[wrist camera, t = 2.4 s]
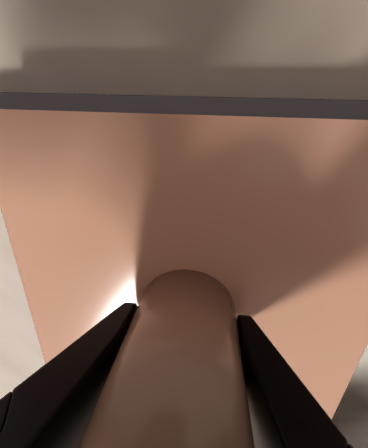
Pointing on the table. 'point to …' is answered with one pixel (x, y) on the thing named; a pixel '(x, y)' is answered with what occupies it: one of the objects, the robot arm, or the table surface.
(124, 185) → the lid
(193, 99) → the mat
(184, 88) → the table surface
